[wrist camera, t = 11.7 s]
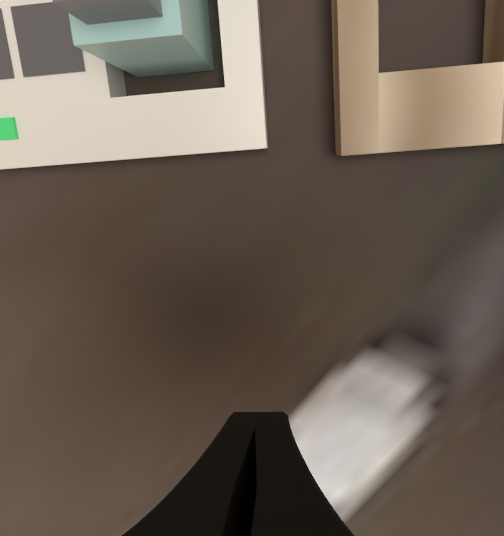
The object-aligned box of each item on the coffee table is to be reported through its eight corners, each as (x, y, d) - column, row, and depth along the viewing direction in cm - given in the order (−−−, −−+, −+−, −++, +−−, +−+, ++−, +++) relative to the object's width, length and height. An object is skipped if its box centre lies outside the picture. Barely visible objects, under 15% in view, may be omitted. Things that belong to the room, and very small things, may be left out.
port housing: (252, -100, 17) (248, -135, 15) (268, 148, 19) (266, 148, 17) (-48, -62, 18) (-93, -90, 16) (0, 169, 20) (-33, 171, 18)
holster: (545, -154, 16) (580, -195, 14) (524, 140, 18) (552, 139, 17) (327, -126, 17) (332, -161, 15) (335, 155, 19) (341, 155, 17)
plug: (206, -18, 18) (146, -145, 10) (213, 70, 19) (164, 13, 11) (127, -9, 18) (10, -126, 10) (138, 77, 19) (37, 27, 11)
